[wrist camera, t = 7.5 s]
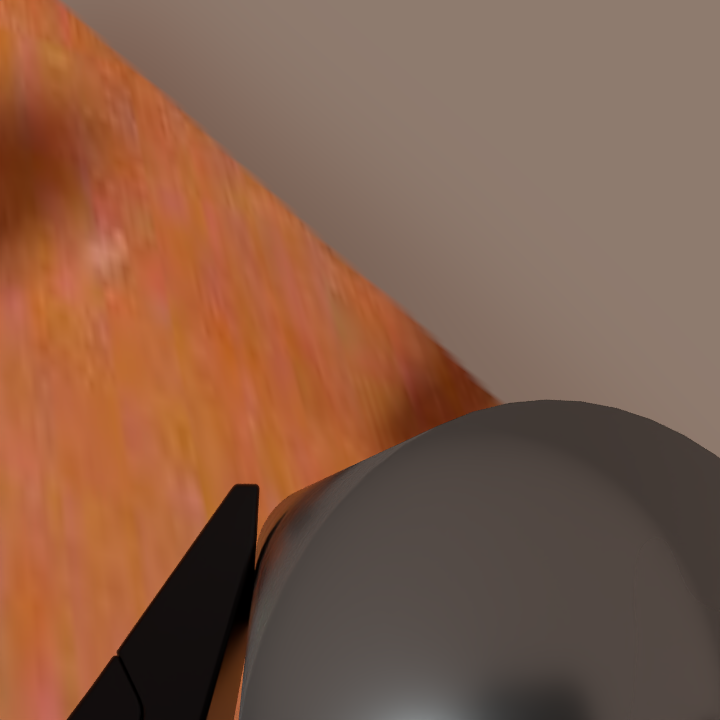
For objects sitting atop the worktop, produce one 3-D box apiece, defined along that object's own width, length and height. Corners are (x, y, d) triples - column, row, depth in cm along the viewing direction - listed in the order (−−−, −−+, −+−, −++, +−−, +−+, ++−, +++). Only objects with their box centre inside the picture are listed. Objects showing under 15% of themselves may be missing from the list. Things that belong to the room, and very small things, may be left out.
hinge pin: (289, 657, 14) (473, 1597, 2) (233, 521, 15) (112, 584, 3) (412, 585, 15) (1022, 897, 3) (355, 463, 16) (665, 315, 4)
